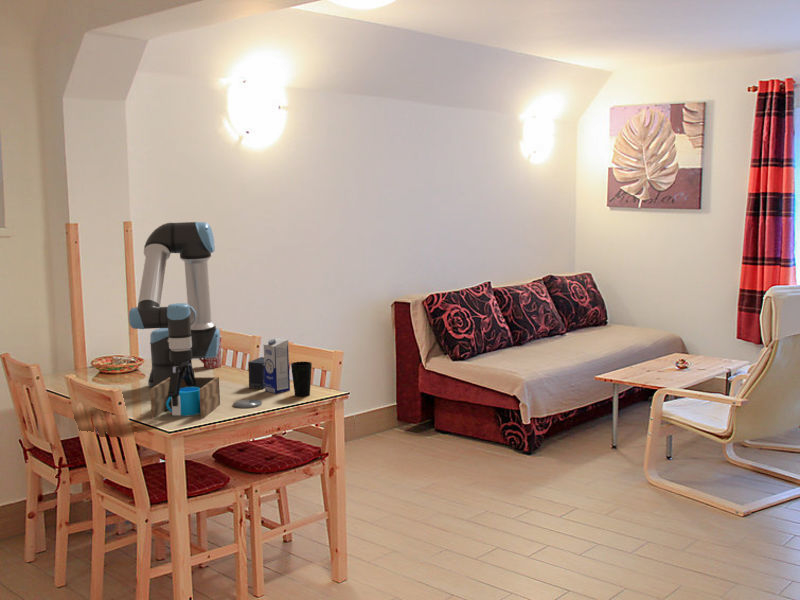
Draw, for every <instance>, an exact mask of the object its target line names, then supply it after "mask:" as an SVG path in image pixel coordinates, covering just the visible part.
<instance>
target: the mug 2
mask: <svg viewBox="0 0 800 600" xmlns="http://www.w3.org/2000/svg"><path fill="white" fill-rule="evenodd" d="M222 337H223V336H222V335H220V342H219V349H218V354H217V356H216V357H214V358H206V359H205V358H199V359H198V360H199V361H200V362H201V363H202V364H203V368H205V369H217V368H221V367H222Z"/></svg>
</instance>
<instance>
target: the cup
mask: <svg viewBox="0 0 800 600" xmlns="http://www.w3.org/2000/svg"><path fill="white" fill-rule="evenodd" d="M312 365H313V363H312V362H311V361H296V362H295V361H294V362H292V363H290V366H291V367H290V368H291V369H290V370H291V376H292V377H291V378H292V383H293V384H292V385H293V391H294V392H293V393H294V396H295V398H296V397H298V398H305V397H310V395H311V386H312V385H311V383H312V382H311V380H312V367H313V366H312Z"/></svg>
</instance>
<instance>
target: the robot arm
mask: <svg viewBox="0 0 800 600" xmlns="http://www.w3.org/2000/svg"><path fill="white" fill-rule="evenodd" d="M215 247H216V246H215V239H214V233H213V229H212V227H211V226H210V224H209V223H208V222H203V221H202V222H201V221H188V222H187V221H185V222H167V223H163V224H161V225H159V226H158V227H157V228H155V229H154V230H153V231H152V232H151V234H149V236H148V237H147V239H146V241H145V244H144V248H143V256H145V258H144V259H145V260H144V264H143V265H144V266H143V270H142V277H141V282H140V283H141V284H140V289H139V296H138V301H137V306H135V307H131V308H130V310H129V311H128V322H129V326H130V327H131V329H134V330H146V329H148V330H149V329H154V330H152V331H151V333H150V337H149V338H150V342H149V344H150V353H151V354H150V357H151V370H150V374H149V378H148V381H147V384H148V388H149V389H151V388H153V387H154V386H156V385H158V384H159V383H161V382H163V381H164V380H166V379H168V378H169V377H170V384H169V393H168V396H169V397H171V400H172V406H171V409H172V412H171V413H172V416H181V406H180V396H179V391H180V387H181V382H182V379H184V381H185V383H186V386H188V387H193V386H196V380H195V377H196V376H195V373H194V368H193V362H192V361H193V359H198V360H199V358H201V359H203V358H205V359H206V358H214V357H216V356H217V354H218V349H219V342H220V336H221V330H220V328H218V327H216V323H215V322H214V321H213V320H212V312H211V311H212V310H211V298H210V297H211V296H210V285H209V268H208V266H209V265H208V262H209V261H208V260H209V259H210V258H211V257H212V253H214V252H215V250H216V248H215ZM171 254H179V259H180V260H182V261H183V262H184V272H185V273H184V274H185V284H186V285H185V286H186V287H185V289H186V299H187V303H185V302H184V303H183V302H180V303H179V302H178V303H172V304H171V303H170V304H168V305H167V306H161V302H162V301H161V300H162V295H163V293H162V292H163V289H164V288H163V287H164V282H165V273H166V267H167V266H166V265H167V260H169V258H171Z"/></svg>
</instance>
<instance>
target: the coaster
mask: <svg viewBox="0 0 800 600" xmlns="http://www.w3.org/2000/svg"><path fill="white" fill-rule="evenodd" d="M262 403H263V402H262V401H261V400H259V399H240V400H236V401H234V402H233V403H232V406H233V407H234V408H237V409H252V408H257V407H259V406H261V405H263V404H262Z"/></svg>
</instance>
